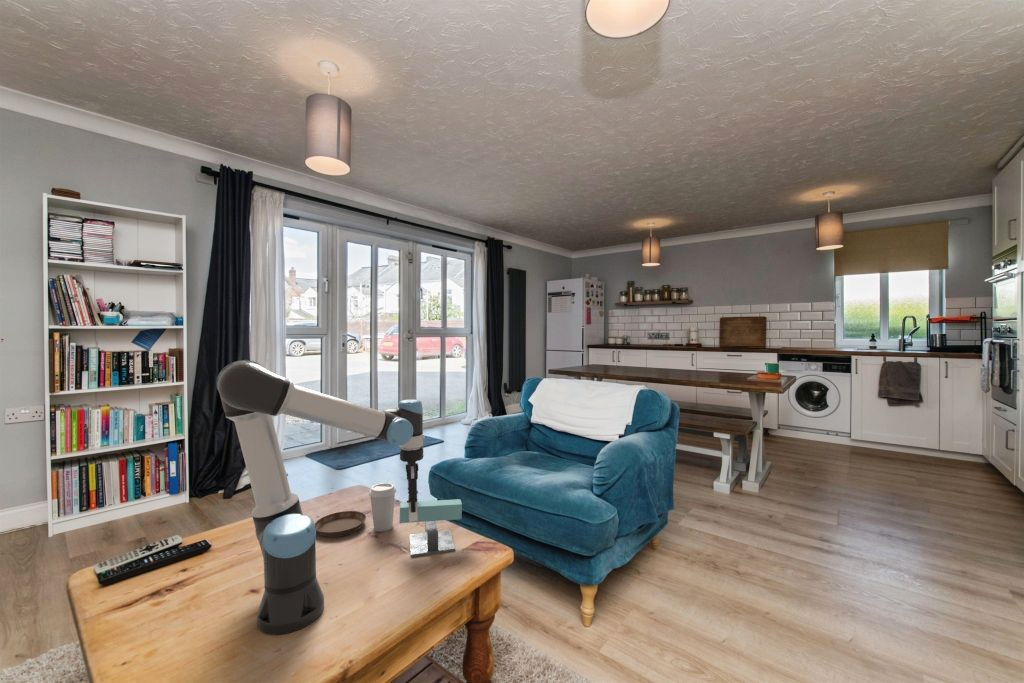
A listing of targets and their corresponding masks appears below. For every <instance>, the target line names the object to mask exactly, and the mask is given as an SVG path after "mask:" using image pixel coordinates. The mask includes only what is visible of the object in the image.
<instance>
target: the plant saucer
mask: <svg viewBox="0 0 1024 683" xmlns="http://www.w3.org/2000/svg"><path fill="white" fill-rule="evenodd" d="M366 519H367V515H366V514H365V513H363V512H362V511H357V510H356V511H355V510H344V511H338V512H334V513H330V514H327V515H324V516H322V517H320V518H319V519H318V520H316V521H315V522H314V525H315V529H316V533H318V534H320V535H321V536H322V537H325V538H326V537H327V538H337V537H338V538H339V537H344V536H347V535H350V534H353V533H355V532H357V531H359V529H360V528H362V526H363V525H364V524H365V521H366Z"/></svg>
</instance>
